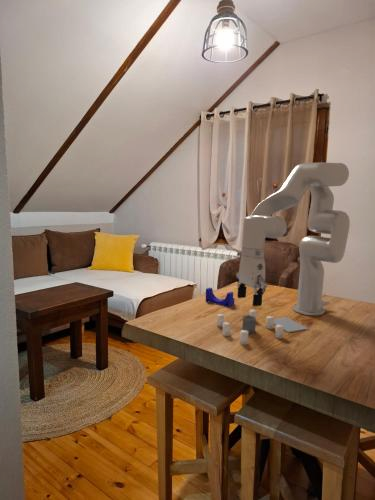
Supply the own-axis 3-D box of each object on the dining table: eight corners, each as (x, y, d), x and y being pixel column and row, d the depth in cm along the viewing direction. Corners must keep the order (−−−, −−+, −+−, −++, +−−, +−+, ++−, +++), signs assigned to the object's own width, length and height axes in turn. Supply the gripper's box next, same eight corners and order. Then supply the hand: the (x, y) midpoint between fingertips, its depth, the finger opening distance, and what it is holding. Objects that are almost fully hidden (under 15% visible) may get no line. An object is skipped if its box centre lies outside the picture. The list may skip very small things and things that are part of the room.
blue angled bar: (234, 304, 151) (234, 291, 150) (229, 307, 148) (230, 293, 147) (210, 299, 158) (211, 286, 157) (205, 301, 154) (205, 288, 153)
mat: (286, 318, 136) (286, 317, 136) (308, 329, 125) (308, 328, 125) (267, 320, 132) (267, 319, 132) (288, 332, 122) (288, 331, 121)
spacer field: (257, 318, 135) (258, 308, 134) (289, 337, 118) (290, 326, 117) (210, 325, 127) (211, 314, 126) (237, 346, 110) (237, 334, 109)
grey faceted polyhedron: (251, 328, 125) (251, 314, 124) (258, 332, 121) (259, 319, 120) (239, 329, 123) (239, 316, 122) (245, 334, 119) (246, 320, 118)
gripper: (277, 257, 111) (273, 308, 114) (248, 248, 127) (244, 294, 129) (258, 257, 108) (253, 310, 111) (230, 249, 124) (227, 295, 126)
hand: (249, 301), depth 120 cm, fingers open, 9 cm apart
